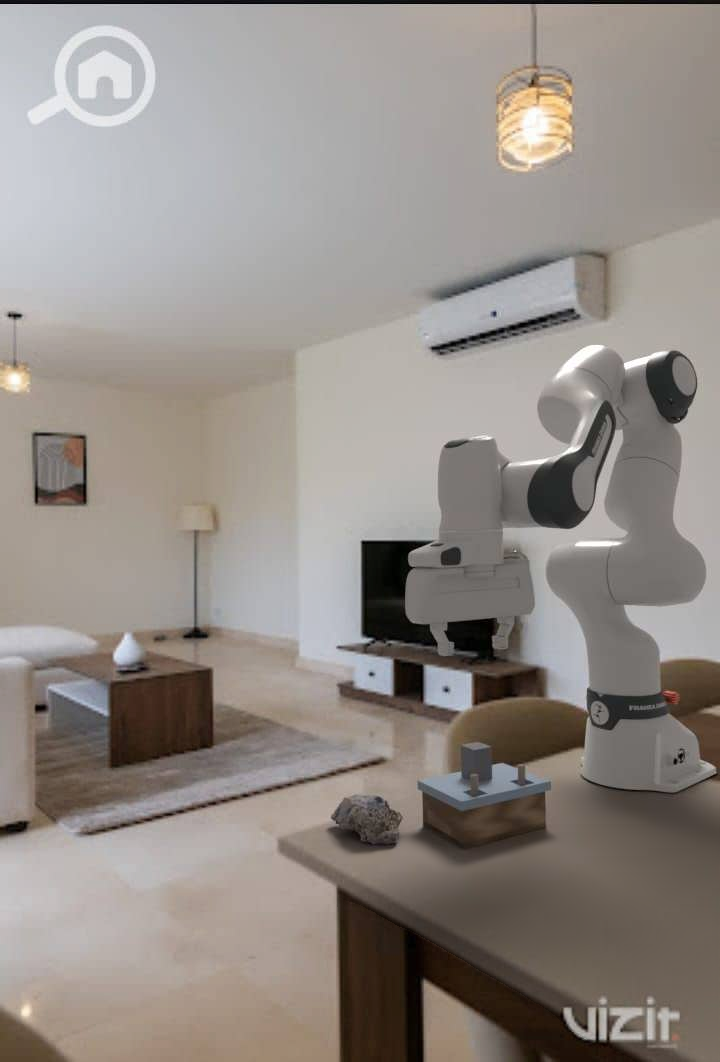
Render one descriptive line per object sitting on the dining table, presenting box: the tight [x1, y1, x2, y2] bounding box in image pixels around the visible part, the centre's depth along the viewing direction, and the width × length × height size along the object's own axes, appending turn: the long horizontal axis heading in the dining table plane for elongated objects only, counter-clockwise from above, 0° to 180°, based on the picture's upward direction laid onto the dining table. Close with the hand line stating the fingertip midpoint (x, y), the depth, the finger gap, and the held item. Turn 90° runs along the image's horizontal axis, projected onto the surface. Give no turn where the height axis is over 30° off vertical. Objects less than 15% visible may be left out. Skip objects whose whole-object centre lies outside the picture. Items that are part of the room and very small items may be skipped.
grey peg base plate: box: [417, 741, 552, 811], centre depth 102 cm, size 15×10×6 cm, turn 119°
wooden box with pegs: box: [421, 763, 547, 850], centre depth 101 cm, size 14×9×8 cm, turn 119°
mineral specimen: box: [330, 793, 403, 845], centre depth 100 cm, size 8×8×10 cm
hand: (473, 651), depth 103 cm, fingers open, 8 cm apart
